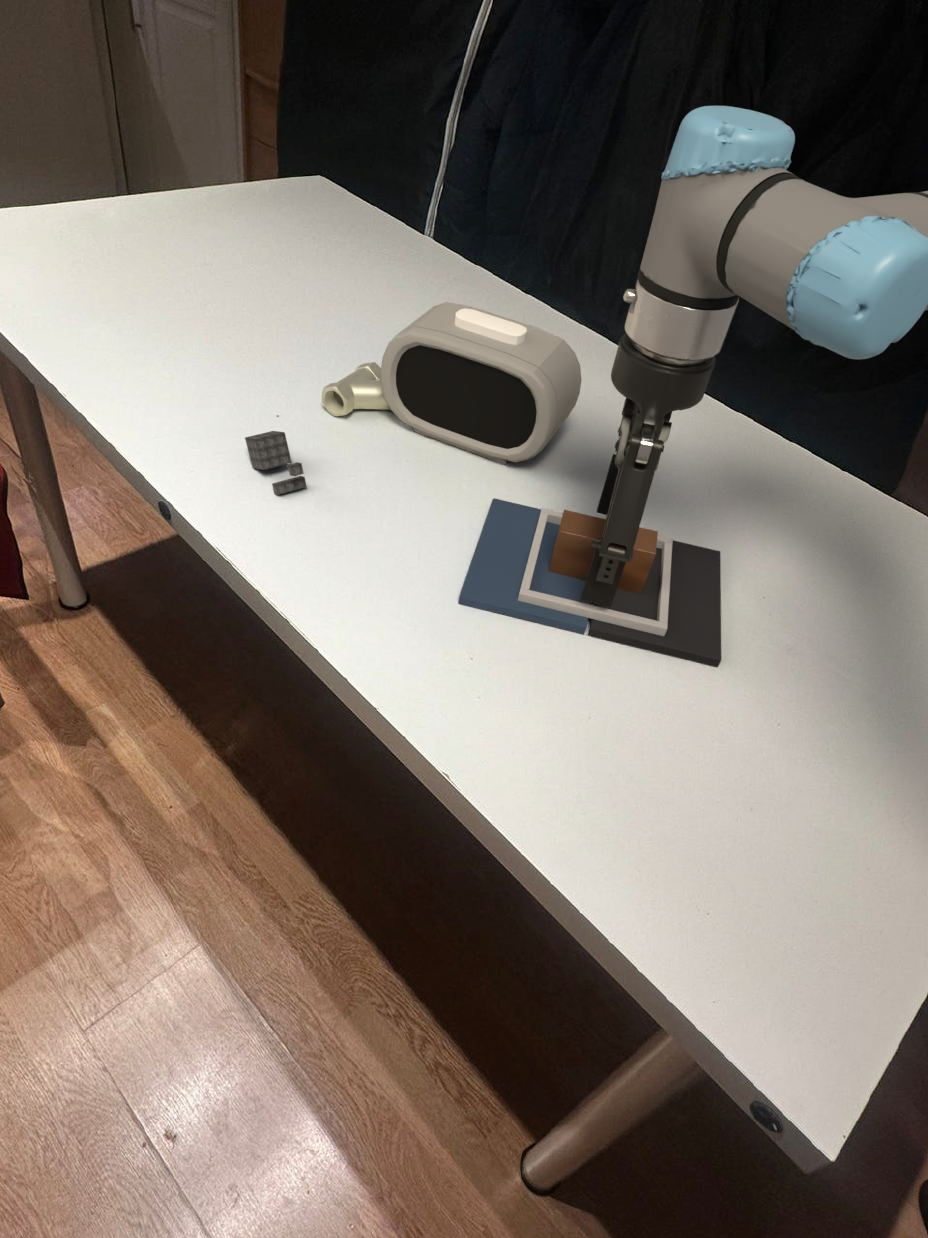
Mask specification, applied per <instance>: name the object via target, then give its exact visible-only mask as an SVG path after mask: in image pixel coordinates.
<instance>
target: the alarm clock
mask: <svg viewBox="0 0 928 1238" xmlns="http://www.w3.org/2000/svg"><path fill="white" fill-rule="evenodd" d="M381 358H382V359H381V366H380V368H381V385H382V389H383V393H384V397H385V399H386V401H387V403H388V405H389V407H390V409H391V410H390V411H391V412H393V414H394V415H395V416H396V417H397V418H398V419H399V420H400V421H401V422H403V423H405V424H407V425H408V426H410V427H412V428H414V431H413V432H414V433H417V434H420V435H423V436H425V437H428V438H431V439H434V440H436V441H439V442H442V443H445V444H447V445H450V446H453V447H456V448H458V449H460V450H464V451H467V452H469V453H473V454H475V455H477V456H481V457H484V458H486V459H488V460H492V461H494V462H497V463H500V464H502V465H506V464H507V463H508V461H509V462H513V463H520V462H524V461H528V460H529V461H530V460H531V459H533V458H534V457H536V456H537V455H539V454H540V453H541V452H542V451H544V449H545V448H546V446H547V445H548V444H549V442H550V441H551V440H552V438H553V437H554V436H555V434H557V432H558V430H559V429H560V428H561V426H562V425H563V424H564V422H565V421H566V420H567V419H568V417H569V416H570V414H571V413H572V411H573V410H574V408H575V407H576V405H577V402H578V400H579V396H580V394H581V388H582V387H581V386H582V370H581V364H580V361H579V359H578V356H577V353H576V352H575V350H574V349H573V348H572V347H571V346H570V344H568V342H567V341H566V340H565V339H564V338H561V337H559V336H558V335H555V334H552V333H551V332H548V331H546V330H544V329H542V328H540V327H537V326H533V325H530V324H527V323H525V322H521V321H519V320H515V319H511V318H509V317H506V316H503V315H499V314H496V313H493V312H489V311H486V310H484V309H481V308H478V307H474V306H470V305H465V304H459V303H455V302H450V301H444V302H442V303H438V304H436V305H434V306H432V307H431V308H429V309H428V310H427V311H426V312H424V313H423V314H422V315H420V316H419V317H418V318H416V319H415V320H413V322H411V323H410V324H409V325H407V326H406V327H405V328H403V329H402V330H401V331H399V332H398V333H396V335H394V337H393V338H392V339H391V340H390V341H389V342H388V343H387V346H386V348H385V350H384V352H383V355H382V357H381Z"/></svg>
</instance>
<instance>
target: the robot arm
mask: <svg viewBox="0 0 928 1238" xmlns="http://www.w3.org/2000/svg"><path fill="white" fill-rule="evenodd" d="M795 143H796V135H795V132H794V130H793V129H792V127H791V126H789V125H787V124H786V123H785V122H784V121H783V120H782V119H779V118H777V117H774V116H772V115H770V114H766V113H763V112H759V111H755V110H752V109H746V108H742V107H735V106H729V105H704V106H703V105H702V106H700V107H697V108H694V109H693V110H691V111H690V112H688V113H687V114H686V115H685V116H684V118H683V119H682V121H681V122H680V125H679V128H678V130H677V133H676V136H675V139H674V142H673V145H672V148H671V151H670V153H669V157H668V160H667V163H666V166H665V169H664V171H663V172H662V173H661V183H660V186H659V191H658V195H657V200H656V203H655V209H654V213H653V216H652V221H651V224H650V228H649V233H648V235H647V239H646V244H645V248H644V252H643V254H642V255H643V256H642V259H641V263H640V267H639V269H638V273H637V279H636V281H635V288H627V289H625V290H624V292H623V295H622V299H623V301H624V302H625V303H628V304H630V305H629V308H628V311H627V316H626V320H625V323H624V331H625V333H623V334H622V335H621V336H620V339H619V342H618V346H617V350H616V353H615V357H614V361H613V365H612V368H611V372H610V380H611V382H612V385H613V386H614V388H615V390H617V392H618V393H619V394H620V395H622V396H623V397H625V400H624V403H623V407H622V411H621V416H622V417H621V421H620V425H619V427H618V428H617V429H618V430H617V433H618V435H617V436H618V439H617V440H616V442H615V444H614V449H615V450H614V452H616V453H613V454H612V456H611V460H610V463H609V467H608V470H607V474H606V477H605V479H604V484H603V488H602V491H601V494H600V497H599V500H598V505H597V508H596V514H600V515H604V516H606V518H605V519H606V522H605V526H604V530H603V534H602V537H601V538H599V539H598V540H595V539H592V540H591V544H590V546H591V547H595V548H596V549H595V552H594V556H593V559H592V562H591V565H590V569H589V572H588V575H587V579H586V582H585V585H584V588H583V592H582V595H581V600H583V601H587V602H591V603H592V604H594V603H595V604H599V605H604V606H608V607H611V605H612V602H613V599H614V596H615V593H616V590H617V587H618V584H619V581H620V578H621V575H622V572H623V569H624V567H625V564H626V562H628V563H629V562H630V560H631V559H632V556H633V553H632V551H633V548H634V544H635V541H636V537H637V533H638V530H639V527H641V523H642V519H643V515H644V512H645V508H646V505H647V501H648V497H649V495H650V490H651V487H652V483H653V481H654V477H655V473H656V471H657V470H658V468H659V463H660V459H661V456H662V453H663V452H664V450H665V443H666V442H667V441H668V440H669V437H670V433H671V429H672V425H673V422H672V421H670V420H671V418H672V414H673V412H675V411H676V412H677V411H684V410H689V409H691V408H693V407H695V406H697V405H698V404H699V403H701V401H702V400H703V398H704V396H705V392H706V391H707V387H708V385H709V382H710V380H711V377H712V374H713V371H714V369H715V365H716V356H717V355H718V354H719V353H721V350H722V348H723V345H724V343H725V341H726V337H727V335H728V331H729V329H730V326H731V324H732V321H733V318H734V315H735V313H736V310H737V308H738V305H739V301H740V298H742V299H743V300H745V301H746V302H748V303H750V304H751V305H753V306H754V307H756V308H758V309H759V310H761V311H762V312H764V313H766V314H767V315H769V316H771V318H774V319H775V320H777V321H778V322H780V323H782V324H784V325H785V326H786V327H788V328H790V330H793V331H794V332H795V333H796V334H797V335H799V336H800V337H801V338H802V339H803V340H805V341H809V342H810V343H811V344H813V345H815V346H819V347H824V348H825V349H828V350H829V351H832V352H834V353H835V354H837V355H840V356H842V357H844V358H846V359H850V360H866V359H870V358H873V357H877V356H878V355H880V354H882V353H884V351H885V350H887V348H888V347H889V346H890V345H891V343H892V344H893V343H894V344H895V343H897V342H899V341H900V340H901V339H902V338H903V337H905V336H906V335H907V333H908V332H909V331H911V329H912V328H913V327H914V326H915V324H916V323H917V322H918V321H919V320H920V318H921V316H922V315H923V314H924V312H925V311H928V190H926V191H919V192H918V191H917V192H916V191H915V192H914V191H912V192H911V191H910V192H902V193H900V192H899V193H892V194H881V195H873V196H871V195H870V196H864V197H847V196H843V195H840V194H837V193H836V192H832V191H830V190H828V189H825V188H822V187H820V186H818V185H816V184H813V183H810V182H807V181H805V179H803V178H801V177H799V176H797V175H796V174H794V173H792V172H790V171H789V170H787V169H788V168H790V165H791V163H792V160H791V156H792V152H793V149H794V147H795ZM591 603H590V604H591Z"/></svg>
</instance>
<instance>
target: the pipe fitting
mask: <svg viewBox="0 0 928 1238" xmlns="http://www.w3.org/2000/svg"><path fill="white" fill-rule="evenodd" d="M321 403H322V405H323V407H324V408H325V409H326V410H327V412H328V413H329V414H330V415H332V416H333V417H343V416H347V415H348V414H350V413H351V412H353V411H354V410H390V411H392V410H391V409H390V407H389V405H388V403H387V401H386V399H385V397H384V393H383V389H382V385H381V366H380V365H379V364H377V363H376V362H374V361H373V362H371V361H370V362H365V363H361V364H360V365H358V366H357V367H355V370H354V371H353V372H351V373H349V374H348V375H347V376H345V377H343V378H342V379H340V380H338V381H337V382H331V383H329V384H327V385H325V386H323V388H322V392H321Z"/></svg>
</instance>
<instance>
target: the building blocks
mask: <svg viewBox="0 0 928 1238" xmlns="http://www.w3.org/2000/svg"><path fill="white" fill-rule="evenodd" d="M244 439H245V444H246V447H247V451H248V455H249V460H250V464H251V467H252V468H253V469H257V470H261V471H266V470H269V469H274V468H277V467H281V466H285V465H287V469H288V474H289V476H291V477H290V478H287V479H283V480H279V481H276V482H273V483H271V486H272V489H273V493H274V494H275V495H278V496H279V495H282V494H287V493H289V492H294V491H297V490H300V489H304V488H307V486H308V485H307V482H306V478H305V476H302V475H304V469H303V464H302V462H298V461H297V462H293V463H292V457H291V453H290V450H289V444H288V440H287V436H286V432H285V431H277V430H271V431H266V432H262V433H258V434H253V435H249V436H245V437H244Z"/></svg>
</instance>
